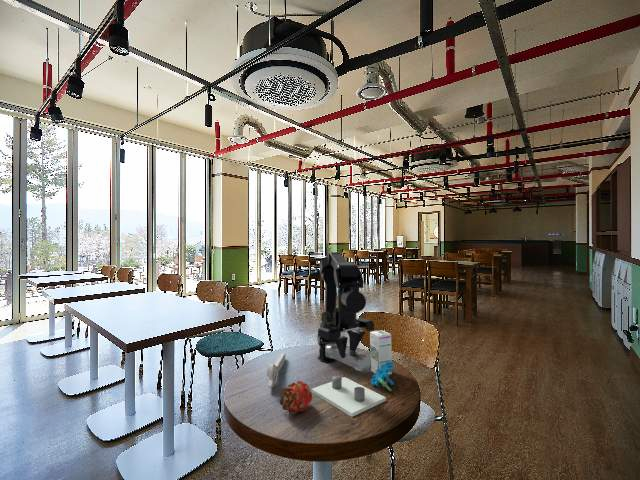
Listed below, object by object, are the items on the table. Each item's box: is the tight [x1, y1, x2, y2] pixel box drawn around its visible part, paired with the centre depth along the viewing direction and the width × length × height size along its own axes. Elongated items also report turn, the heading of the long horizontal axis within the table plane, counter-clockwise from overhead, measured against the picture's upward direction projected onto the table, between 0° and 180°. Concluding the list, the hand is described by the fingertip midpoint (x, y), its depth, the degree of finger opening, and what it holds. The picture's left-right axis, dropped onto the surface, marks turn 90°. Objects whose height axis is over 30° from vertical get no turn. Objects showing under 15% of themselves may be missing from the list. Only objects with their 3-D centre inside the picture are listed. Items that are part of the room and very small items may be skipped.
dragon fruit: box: [279, 380, 313, 416], centre depth 90 cm, size 8×8×12 cm
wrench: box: [266, 353, 286, 389], centre depth 113 cm, size 8×2×30 cm
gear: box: [370, 361, 395, 392], centre depth 105 cm, size 11×6×10 cm
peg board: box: [311, 375, 387, 418], centre depth 97 cm, size 14×18×4 cm
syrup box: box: [369, 329, 393, 376], centre depth 115 cm, size 6×6×14 cm
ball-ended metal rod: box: [325, 344, 371, 372], centre depth 98 cm, size 5×18×3 cm, turn 38°
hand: (347, 356), depth 98 cm, fingers closed on ball-ended metal rod, 4 cm apart
